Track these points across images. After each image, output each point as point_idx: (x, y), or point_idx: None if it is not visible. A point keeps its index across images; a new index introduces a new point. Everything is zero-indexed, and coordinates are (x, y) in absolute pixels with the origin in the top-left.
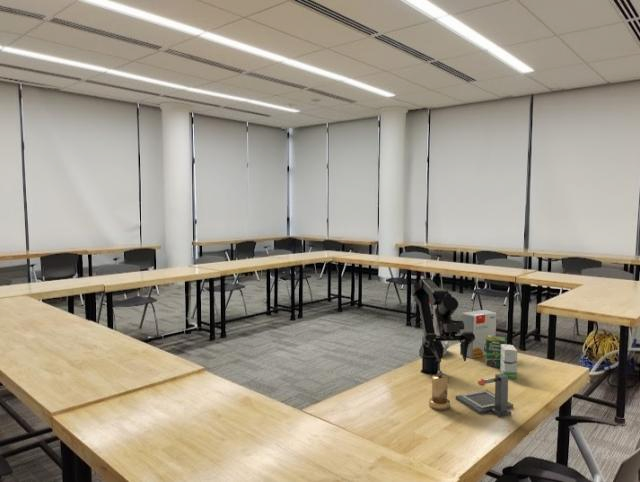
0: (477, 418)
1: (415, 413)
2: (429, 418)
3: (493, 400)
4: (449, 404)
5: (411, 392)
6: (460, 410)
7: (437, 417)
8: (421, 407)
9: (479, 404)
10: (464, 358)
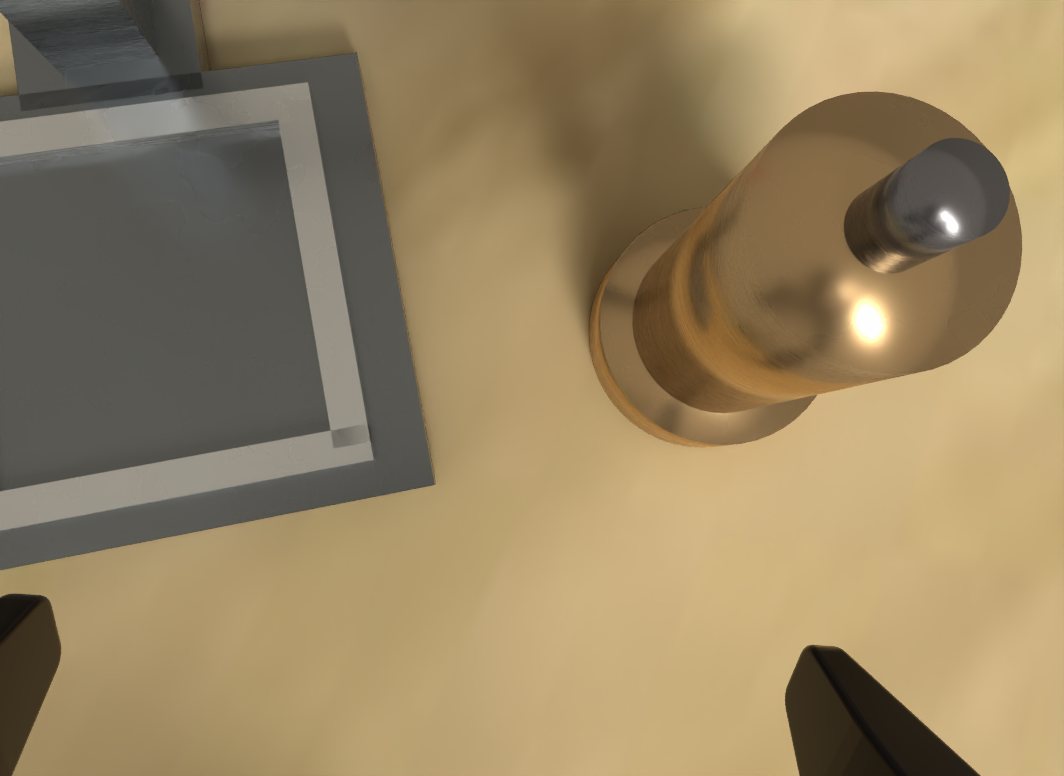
0: (430, 8)
1: None
2: None
3: (23, 269)
4: (629, 244)
5: None
6: (517, 203)
7: None
8: None
9: (286, 159)
10: (11, 655)
